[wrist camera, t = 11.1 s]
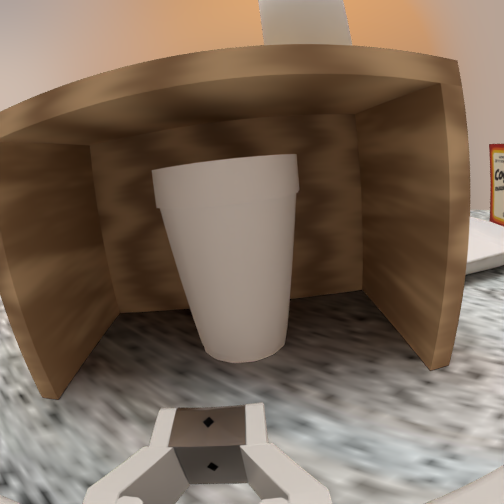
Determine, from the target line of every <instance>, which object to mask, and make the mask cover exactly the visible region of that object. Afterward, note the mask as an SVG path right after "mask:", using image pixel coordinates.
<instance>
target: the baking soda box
mask: <svg viewBox="0 0 504 504" xmlns="http://www.w3.org/2000/svg"><path fill="white" fill-rule="evenodd" d="M489 149H490V173H491V174H490V177H491V199H490V200H491V201H490V221H491V222H493V223H496V224H498V225H501V226H503V227H504V144H489Z"/></svg>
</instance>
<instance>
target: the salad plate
mask: <svg viewBox="0 0 504 504" xmlns="http://www.w3.org/2000/svg"><path fill="white" fill-rule="evenodd" d="M503 265H504V227H503V226H500V225H497V224H494V223H491V222H488V221H485V220H481V219H477V218H474V217H470V225H469V242H468V255H467V265H466V274H465V275H467V274H472V273H476V272H480V271H484V270H488V269H492V268H496V267H500V266H503Z"/></svg>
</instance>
